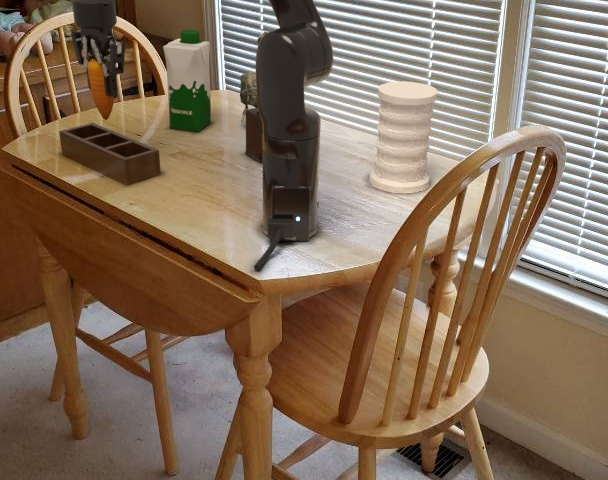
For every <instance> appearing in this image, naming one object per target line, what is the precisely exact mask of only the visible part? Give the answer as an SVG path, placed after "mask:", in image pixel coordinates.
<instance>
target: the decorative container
mask: <svg viewBox="0 0 608 480" xmlns="http://www.w3.org/2000/svg"><path fill="white" fill-rule="evenodd" d="M377 96H378V98H379V99H380V104H379V107H378V115H379V121H378V123H377V127H376V128H377V133H378V136H377V138H376V141H375V146H376V149H377V150H376V154H375V157H374V164H375V168H374V169H372V170H371V171H370V172H369V183H370V185H372V186H373V187H374V188H376V189H378V190H380V191H384V192H387V193H393V194H414V193H415V194H416V193H419V192H422V191H424V190H426V189H427V188H428V187H429V185H430V176H429V174H428V173H427V172H426V168H427V166H428V162H429V161H428V156H427V155H428V152H429V149H430V141H429V139H430V136H431V133H432V125H431V121H432V119H433V116H434V108H433V103H435V102H436V101H437V100H438V89H437V88H435V87H434V86H432V85H430V84H427V83H422V82H415V81H389V82H386V83H382V84H381V85H379V86H378V89H377Z"/></svg>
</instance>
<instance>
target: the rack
mask: <svg viewBox="0 0 608 480" xmlns="http://www.w3.org/2000/svg"><path fill="white" fill-rule="evenodd" d="M58 133H59V141H60V148H61V154H62V156H64V157H66V158H68V159H70V160H72V161H75V162H76V163H78V164H81V165H83V166H86V167H87V168H89V169H91V170H94V171H96V172H98V173H100V174H102V175H104V176H106V177H108V178H111V179H112V180H115V181H116V182H120V183H122V184H123V185H126V186H130V185H133V184H136V183H139V182H142V181H145V180H149V179H152V178H155V177H158V176H161V175H162V174H161V159H160V158H161V157H160V149H157V148H155V147H152V146H150V145H148V144H145V143H143V142H140V141H138V140H136V139H133V138H131V137H128V136H126V135H124V134H121V133H118V132H117V131H113V130H111V129H110V128H106V127H104V126H102V125H99V124H97V123H94V122H91V123H86V124H83V125H77V126H74V127H70V128H66V129H63V130H59V131H58Z"/></svg>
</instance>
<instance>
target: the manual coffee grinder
mask: <svg viewBox="0 0 608 480" xmlns="http://www.w3.org/2000/svg"><path fill="white" fill-rule="evenodd" d="M244 154H245V155H247V156H248V157H250V158H252V159H254V160H255V161H257V162H259V163H261V164H263V123H262V120H261V117H260V114H259V111H258V108H255V107H252V108H248V110H246V115H245V153H244Z"/></svg>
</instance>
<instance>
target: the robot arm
mask: <svg viewBox="0 0 608 480" xmlns="http://www.w3.org/2000/svg"><path fill="white" fill-rule="evenodd" d="M267 1H268V2H269V4H270V7H271V9H272V11H273V13H274V16H275V18H276V21H277V24H278V27H279V28H275V29H271V30H270V31H266V32H267V33H266V34H265V35H264V36H263V37H262V38H261V40H260V42H259V44H258V43H257V48H256V51H255V52H256V53H255V73H256V86H257V104H258V111H259V114H260V117H261V120H262V123H263V163H262V222H261V230H262V232H263V234H264V235H266V236H267V238H268V239H271V242H270V245H269V246H268V248H267V249H266V250H265V251H264V253H263V254H262V256H261V257H260V258H259V260H258V261H257V262H256V263H255V264H254V265H253V269H254V270H255V271H260V270H261V268H262V267H263V266H264V265H265V263H266V262H267V261H268V259H269V258H270V256H271V255H272V254H273V252H274V251H275V249H276V248H277V246H278V245H279V243H280V241H281V242H282V241H283V242H309V240H310V238H311V237H313V236H315V235H316V234H317V232H318V209H319V205H320V204H319V203H320V201H319V200H318V198H319V195H318V194H319V173H320V171H319V170H320V150H321V149H320V148H321V125H322V123H321V122H322V120H321V119H322V118H321V116H320V114H319V113H318V112H317V111H316V110H315V109H312V108H308V107H307V106H306V103H305V102H306V101H305V88H307V87H311V86H314V85H316V84H319V83H322V82H324V81H325V80H327V78H328V77H329V76H330V75H331V73H332V70H333V65H334V49H333V45H332V41H331V38H330V35H329V32H328V31H327V28H326V26H325V24H324V22H323V19H322V17H321V15H320V13H319V11H318V7H316V4H315V2H314V0H267ZM71 6H72V13H73V21H74V24H75V26H76V27H78V28H80V30H74V31H71V33H70V35H71V40H72V44H73V47H74V50H75V55H76V60H77V63H78V64H79V65H80V66H81V65H82V66H83V69H84V70H85V73H86V80H87V87H88V89H89V90H90V91H91V86H90V80H89V74H88V62H89V61H91V60H94V59H96V58H97V61H98V63H99V64H100V65H101V66H102V70H103V73H104V84H105V94H106V96H108V97H111V96H114V97H116V96H117V95H118V91H119V90H118V79H117V76H118V75H120V74H124V72H125V55H126V44H125V42H124V41H117V40H116V39H115V35H114V31H113V27H115V26H116V24H117V23H118V19H117V8H116V0H71ZM91 45H92V46H91ZM92 48H93V49H94V51H95V52H93V50H92ZM94 53H95V54H96V58H95V54H94ZM103 57H104V58H103ZM107 63H109V69H108V67H107Z"/></svg>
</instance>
